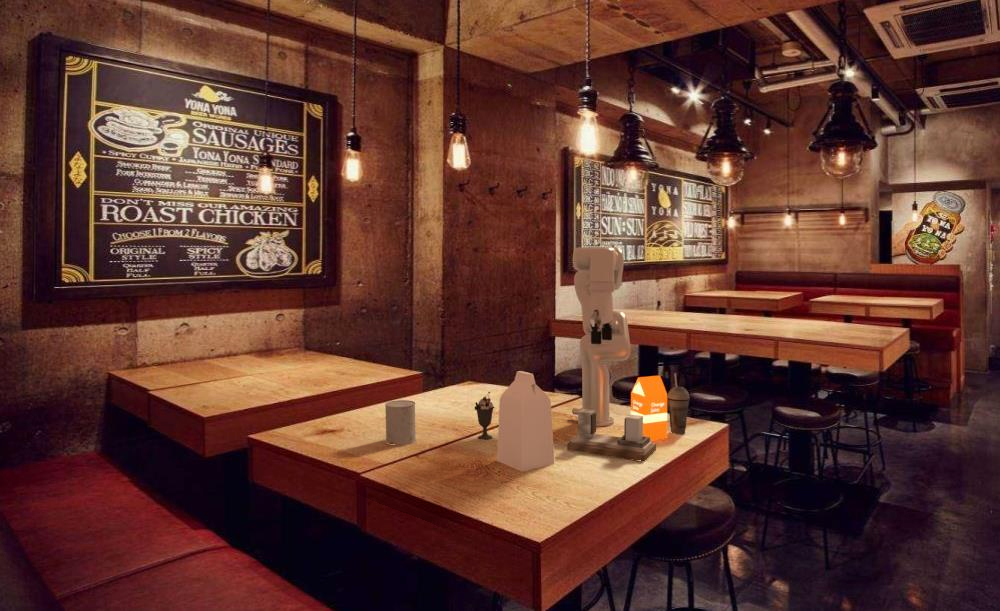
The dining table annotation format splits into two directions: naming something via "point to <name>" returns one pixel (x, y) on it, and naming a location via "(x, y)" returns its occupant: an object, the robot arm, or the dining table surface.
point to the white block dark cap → (633, 428)
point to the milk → (525, 425)
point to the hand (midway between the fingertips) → (601, 341)
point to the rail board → (606, 441)
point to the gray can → (400, 422)
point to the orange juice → (650, 406)
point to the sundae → (484, 416)
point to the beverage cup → (678, 408)
